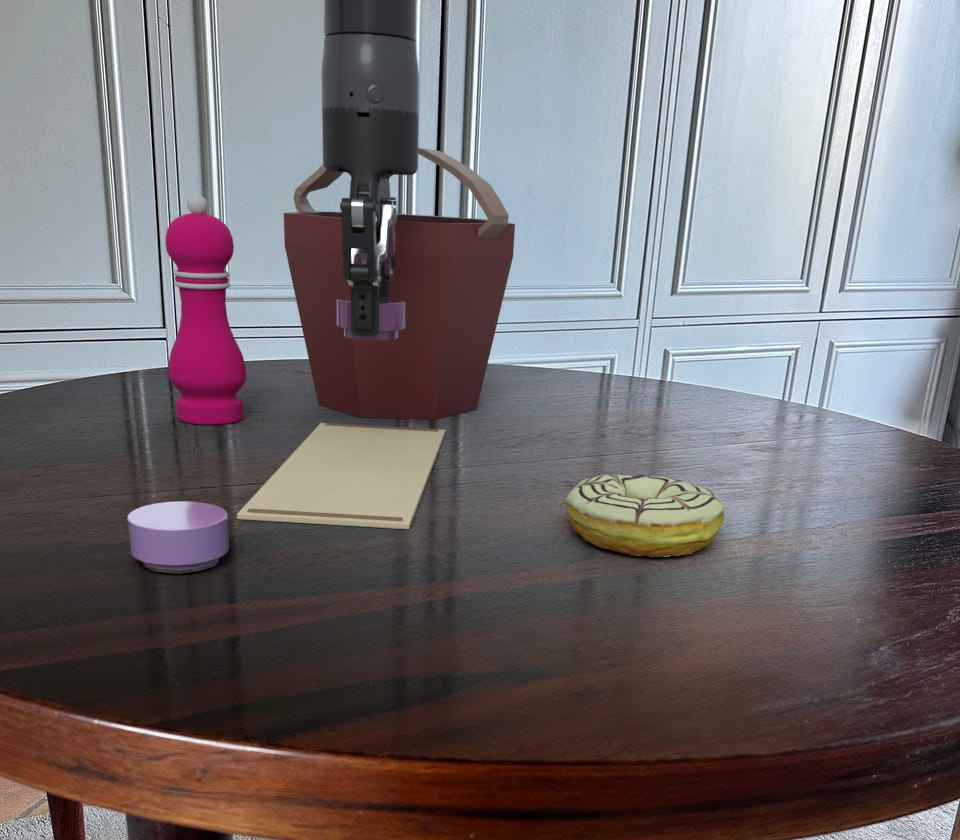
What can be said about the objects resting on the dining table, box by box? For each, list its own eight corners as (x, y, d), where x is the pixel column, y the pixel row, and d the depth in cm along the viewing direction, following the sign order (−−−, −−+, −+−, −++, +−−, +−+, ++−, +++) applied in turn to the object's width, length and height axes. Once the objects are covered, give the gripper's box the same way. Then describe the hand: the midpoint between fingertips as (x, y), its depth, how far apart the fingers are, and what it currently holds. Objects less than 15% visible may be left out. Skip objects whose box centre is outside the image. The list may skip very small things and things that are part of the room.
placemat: (237, 519, 71) (236, 512, 71) (320, 426, 98) (320, 421, 98) (409, 529, 71) (409, 522, 70) (445, 433, 98) (445, 428, 98)
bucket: (252, 392, 112) (240, 138, 102) (409, 376, 126) (413, 151, 116) (388, 436, 96) (391, 140, 86) (552, 412, 110) (572, 154, 100)
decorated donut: (649, 509, 78) (654, 460, 76) (750, 552, 69) (759, 498, 68) (535, 525, 73) (539, 473, 71) (630, 573, 64) (637, 515, 63)
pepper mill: (260, 422, 99) (250, 197, 91) (187, 429, 95) (170, 194, 87) (231, 408, 104) (220, 194, 96) (161, 413, 100) (143, 191, 92)
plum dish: (331, 339, 84) (330, 301, 83) (343, 330, 90) (343, 294, 88) (401, 343, 84) (401, 305, 83) (409, 333, 89) (409, 297, 88)
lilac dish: (117, 575, 60) (111, 526, 59) (151, 544, 65) (146, 498, 64) (214, 581, 60) (211, 532, 59) (240, 549, 65) (238, 504, 64)
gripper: (339, 111, 87) (341, 318, 93) (303, 97, 73) (309, 339, 80) (427, 114, 86) (423, 322, 93) (407, 102, 73) (404, 344, 80)
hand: (370, 329), depth 87 cm, fingers closed on plum dish, 5 cm apart
